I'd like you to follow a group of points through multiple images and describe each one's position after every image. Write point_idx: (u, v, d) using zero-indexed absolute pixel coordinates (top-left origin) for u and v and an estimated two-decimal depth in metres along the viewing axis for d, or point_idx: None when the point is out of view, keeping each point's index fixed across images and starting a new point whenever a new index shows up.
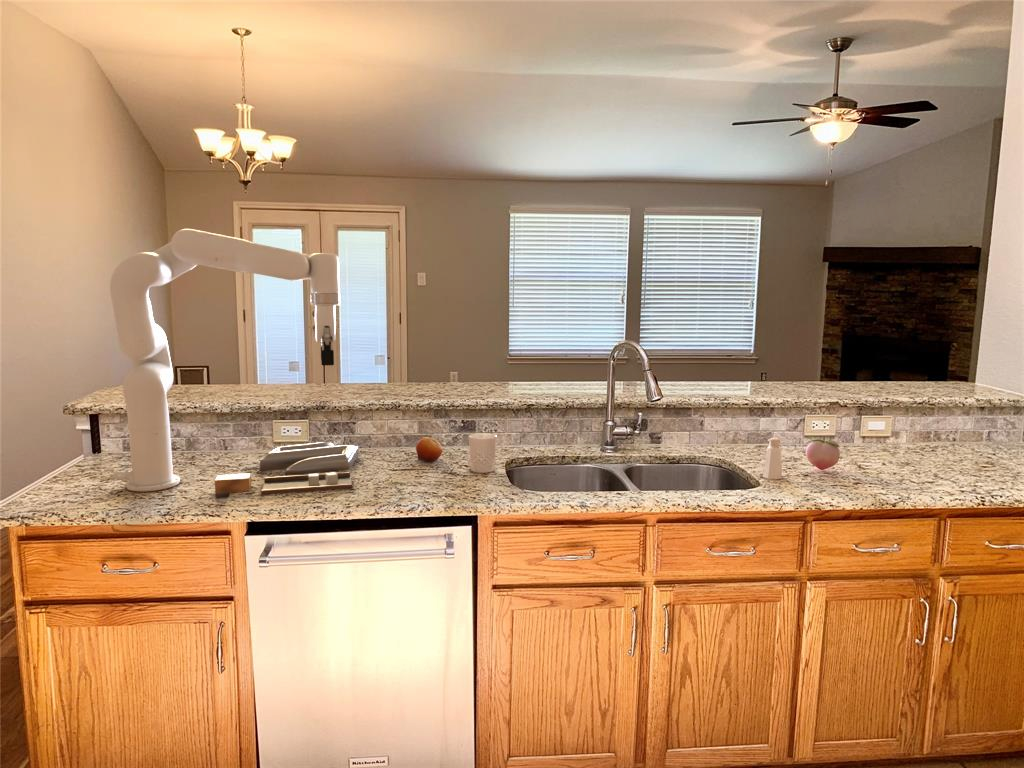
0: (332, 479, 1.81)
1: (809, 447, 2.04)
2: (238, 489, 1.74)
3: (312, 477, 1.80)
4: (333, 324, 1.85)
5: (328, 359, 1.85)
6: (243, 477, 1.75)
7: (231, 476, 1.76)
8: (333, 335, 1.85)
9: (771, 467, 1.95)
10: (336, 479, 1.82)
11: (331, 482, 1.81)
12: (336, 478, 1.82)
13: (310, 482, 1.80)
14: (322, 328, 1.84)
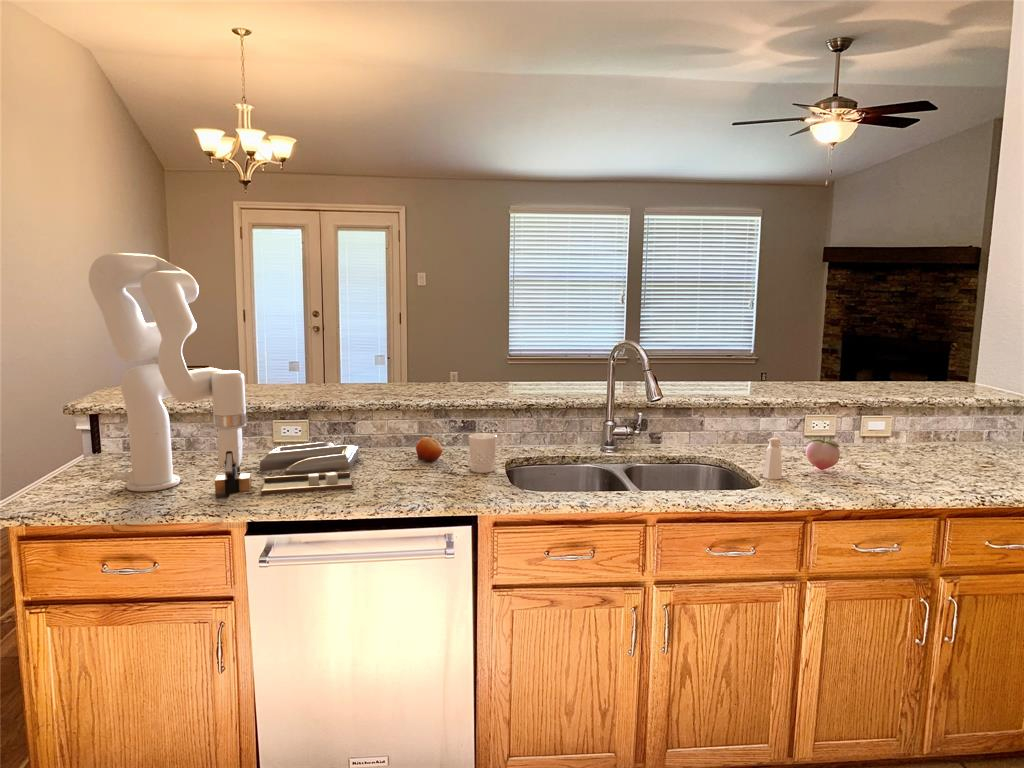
0: (332, 479, 1.81)
1: (809, 447, 2.04)
2: None
3: (312, 477, 1.80)
4: (237, 449, 1.71)
5: (232, 489, 1.73)
6: (243, 477, 1.75)
7: None
8: (237, 461, 1.71)
9: (771, 467, 1.95)
10: (336, 479, 1.82)
11: (331, 482, 1.81)
12: (336, 478, 1.82)
13: (310, 482, 1.80)
14: (224, 454, 1.70)
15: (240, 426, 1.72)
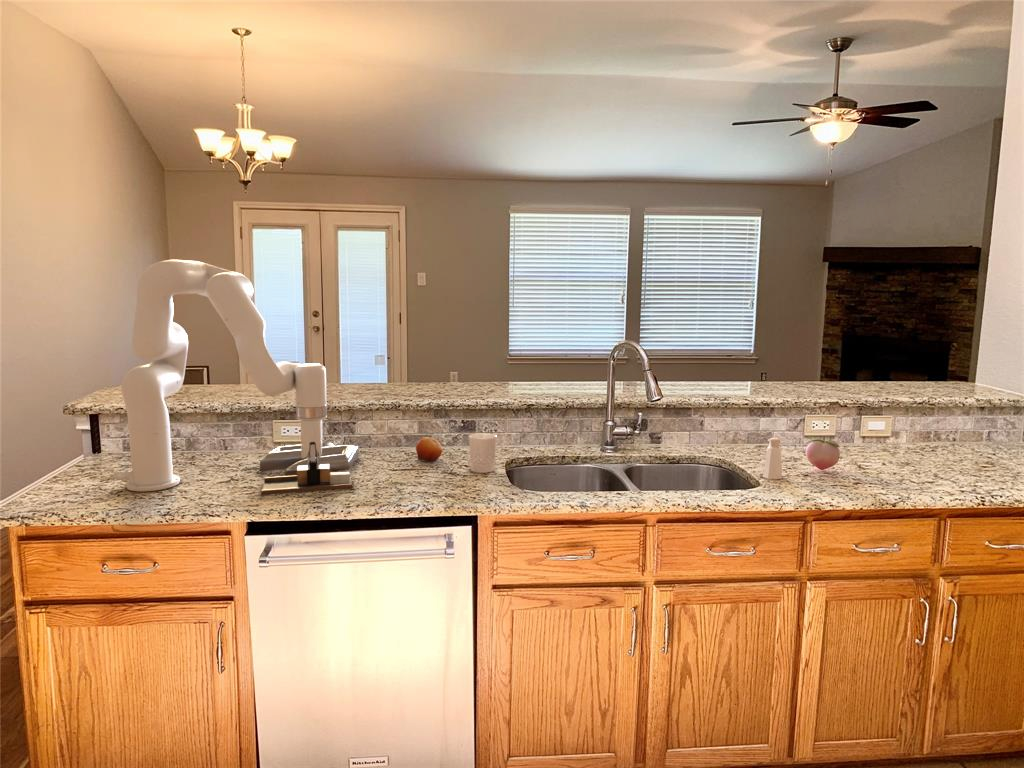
0: (344, 479, 1.82)
1: (809, 447, 2.04)
2: None
3: (333, 476, 1.81)
4: (319, 440, 1.76)
5: (314, 479, 1.78)
6: (324, 467, 1.80)
7: None
8: (319, 451, 1.76)
9: (771, 467, 1.95)
10: (348, 479, 1.82)
11: (343, 481, 1.82)
12: (348, 478, 1.82)
13: (331, 481, 1.81)
14: (308, 445, 1.75)
15: (322, 418, 1.77)
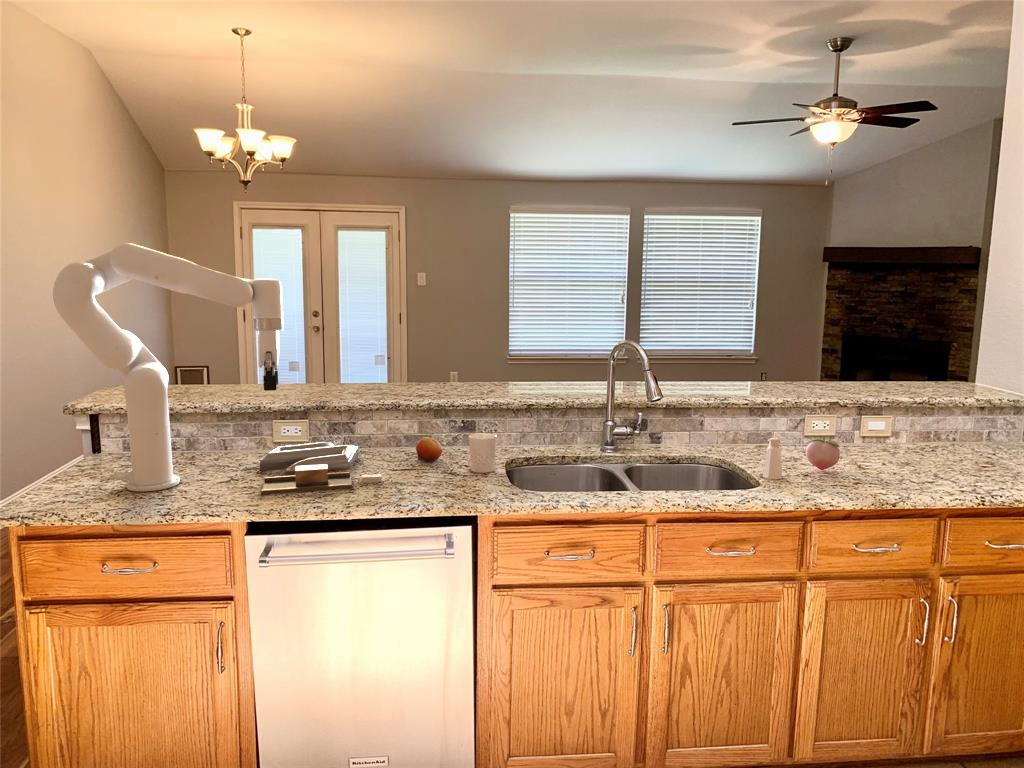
0: (376, 481, 1.84)
1: (809, 447, 2.04)
2: (317, 480, 1.79)
3: (365, 478, 1.84)
4: (275, 349, 1.86)
5: (270, 384, 1.86)
6: (322, 468, 1.80)
7: (310, 467, 1.81)
8: (275, 360, 1.86)
9: (771, 467, 1.95)
10: None
11: (373, 480, 1.84)
12: None
13: None
14: (264, 353, 1.85)
15: (278, 329, 1.87)
